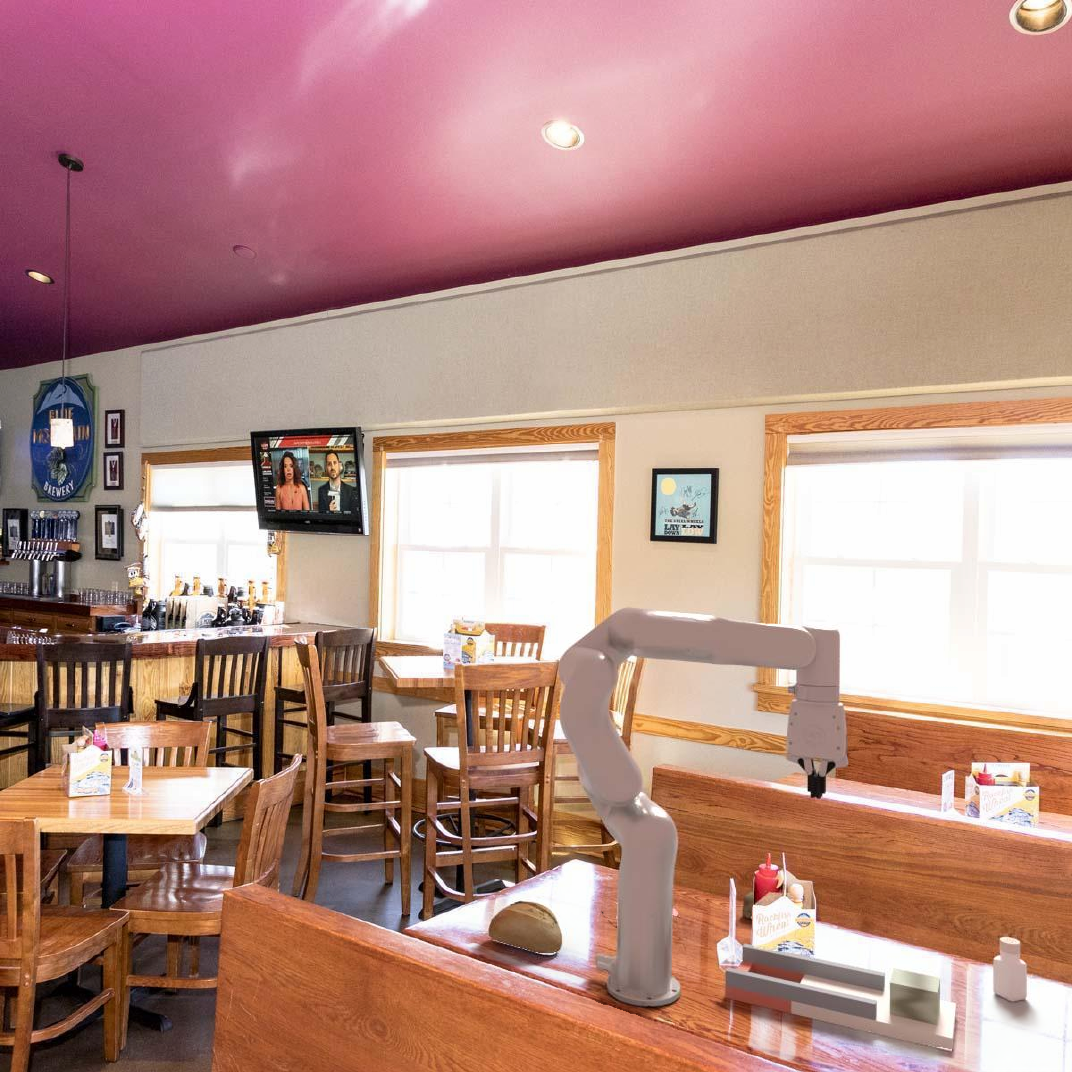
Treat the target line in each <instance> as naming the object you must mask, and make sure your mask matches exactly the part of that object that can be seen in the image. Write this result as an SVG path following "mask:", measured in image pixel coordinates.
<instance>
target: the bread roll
mask: <svg viewBox="0 0 1072 1072" xmlns="http://www.w3.org/2000/svg"><path fill="white" fill-rule="evenodd" d="M561 930H562V929H561V928H560V925H559V921H558V920H557V918H556V915H555V914H554V913H553V912H552V910H550V909H549V908H548V907H547V906H545V905H543V904H540V903H537V902H533V901H528V900H527V901H526V900H525V901H523V900H518V901H515V902H514V903H510V904H509V905H507V906H505V907H504V908H502V909H501V910H500V911H499V912H497V913H496V914H495V915H494V916H493V918H492V919H491V920H490V924H489V927H488V930H487V931H488V936H490V937H491V938H492V939H494V940H497V941H499V942H503V943H506V944H509V945H513V946H516V947H520V948H524V949H527V950H530V951H533V952H538V953H554V952H557V951H559V950H560V951H561V949H562V945H563V934H562V931H561ZM490 937H489V938H490ZM491 938H490V939H491ZM492 939H491V940H492ZM516 947H515V948H516ZM527 950H526V951H527ZM560 951H559V952H560ZM533 952H532V953H533Z"/></svg>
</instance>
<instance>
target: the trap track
mask: <svg viewBox="0 0 1072 1072" xmlns="http://www.w3.org/2000/svg"><path fill="white" fill-rule="evenodd" d="M754 946H755V945H754ZM754 946H753V944H749V943H744V944H743V945H742V956H741V957H742V960H743V961H742V960H741V962H740V963H739V965H738V966H737V968H732V967H727V968H726V969H725V987H724V989H725V990H724V996H725V997H726V998H725V997H724V998H725V999H729V998H730V999H729V1000H734V1001H738V1002H742V1003H746V1004H749V1005H750V1004H751V1005H754V1006H759V1007H762V1008H766V1009H771V1010H775V1011H780V1012H784V1013H788V1014H792V1015H796V1016H801V1017H804V1018H809V1019H813V1020H818V1021H821V1022H826V1023H831V1024H834V1025H838V1026H842V1027H847V1028H851V1029H855V1030H858V1031H862V1030H863V1031H862V1032H867V1031H870V1032H869V1033H871V1032H873V1033H872V1034H875V1033H878V1034H877V1035H879V1034H881V1035H880V1036H883V1035H885V1036H884V1037H888V1038H893V1039H897V1040H901V1041H905V1042H909V1043H914V1044H917V1043H919V1044H918V1045H921V1044H924V1045H923V1046H925V1045H930V1046H934V1047H943V1048H948V1049H953V1050H954V1041H953V1039H955V1031H954V1030H956V1021H955V1020H957V1019H956V1017H957V1003H956V1002H952V1001H949V1000H947V1001H946V1000H942V999H940V1012H939V1019H938V1025H934V1024H930V1023H925V1022H921V1021H917V1020H912V1019H908V1018H904V1017H899V1016H895V1015H891V1014H890V988H887V987H886V984H885V983H886V973H885V972H883V971H878V970H873V969H868V968H863V967H859V966H854V965H850V964H849V965H848V964H844V963H839V962H835V961H831V960H830V961H829V960H824V959H820V958H816V957H811V956H805V955H801V954H796V953H791V952H787V953H786V951H783V952H778V951H779V950H778V951H770V950H765V949H759V948H754ZM934 1047H933V1048H934Z"/></svg>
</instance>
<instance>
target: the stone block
mask: <svg viewBox="0 0 1072 1072" xmlns="http://www.w3.org/2000/svg"><path fill="white" fill-rule="evenodd" d="M754 891H755V890H754ZM754 891H751V892H749V893H747V894H746V895H744V897H743V902H742V904H743V905H742V906H743V907H742V912H741V913H742V916H743V917H744V918H746V919H748V918H749V919H748V920H752V919H751V916H752V906H753V902H754Z"/></svg>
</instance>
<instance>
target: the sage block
mask: <svg viewBox="0 0 1072 1072" xmlns="http://www.w3.org/2000/svg"><path fill="white" fill-rule="evenodd" d="M889 989H890V1014H891V1015H895V1016H899V1017H904V1018H908V1019H912V1020H917V1021H921V1022H925V1023H930V1024H934V1025H938V1019H939V1012H940V1000H941V977H938V976H932V975H928V974H924V973H923V974H922V973H919V972H918V973H917V972H913V971H909V970H905V969H904V970H903V969H898V968H895V967H894V968H893V971H892V975H891V977H890V980H889Z"/></svg>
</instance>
